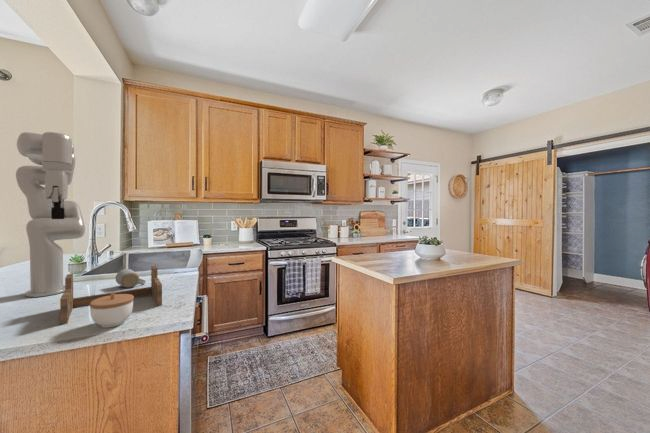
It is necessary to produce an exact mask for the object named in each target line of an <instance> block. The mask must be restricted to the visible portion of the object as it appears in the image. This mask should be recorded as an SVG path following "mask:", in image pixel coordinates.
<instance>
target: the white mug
mask: <svg viewBox="0 0 650 433" xmlns="http://www.w3.org/2000/svg"><path fill="white" fill-rule="evenodd" d="M115 282H116V283H117V284H118V285H120V286H121V287H123V288H124V289H125V288H126V289H131V288H133V287H134V288H135V287H136V285H145V284H146V280H145V279H142V278H140V276H139V274H138V273H137V272H135V271H134V270H133V269H131V268H124V269H121V270H119V271H118V272H117V273H116V275H115Z"/></svg>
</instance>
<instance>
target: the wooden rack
mask: <svg viewBox="0 0 650 433" xmlns="http://www.w3.org/2000/svg"><path fill="white" fill-rule="evenodd" d="M150 267H151V268H150V272H151V273H150V280H151V281H150V283H151V284H150V285H151V286H146V287H141V288H135V289H126V290H120V291H114V292H107V293H101V294H100V293H99V294H93V295H86V296H81V297H80V296H79V297H74V274H73V273H69V274H66V276H65V278H64V286H65V291H64V292H62V295H61V297H60V299H59V302H60V303H59V304H60V306H59V307H60V312H59V313H60V314H59V315H60V325H65V324H68V322H69V321H70V320H69V319H70V317H71V314H72V311H73V308H79V307H86V306H90V303H91V302H92V301H93V300H95V299H98V298H101V297H104V296H109V295H111V294H131V295H133V296H134V298H139V297H145V296H152V298H153V300H154V303H155V305H156V307H160V306H163V284H162V282H161V280H160V279H159V278H158V266H156V265H151V266H150Z"/></svg>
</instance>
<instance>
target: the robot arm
mask: <svg viewBox="0 0 650 433" xmlns="http://www.w3.org/2000/svg"><path fill="white" fill-rule="evenodd" d="M72 142H73V140H72V138H71V137H70V135H67V134H64V133H60V132H59V133H58V132H54V131H53V132H52V131H48V132H47V131H46V132H43V133H42V134H41V133H35V132H34V133H33V132H29V131H28V132H26V131H24V132H21V133H20V134H19V136H18V138H17V139H16V148H17V151H18V154H20V155H21V156H23V157H26V158H28V159H29V161H31V162H32V163H34V164H36V165H23V166H20V167H18V168H17V169H16V171H15V179H16V183H17V185H18V188H19V189H20V190H21V192H22V194H23V195H24V196H25V197H26V200H27V209H28V213H29V216H30V218H31V220H29V221H28V222H27V223H26V227H25V229H26V235H27V239H28V244H29V270H30V271H29V272H30V275H29V277H30V284H29V285H30V286H29V287H30V289H29V290H27V291H26V292H24V296H25V297H27V298H39V297H41V298H42V297H46V296H53V295H58V294H63V293H64V291H65V285H64V251H63V248H62V246H60V245H59V244H58V243H56V242H55V241H62V240H73V239H75V240H77V239H80V238H81V239H82V237H83V236H84V235H85V233H86V226H85V222H84V218H83V215H82V210H81V207H80V205H79V204H78V203H77V202H76V201H73V200H67V199H68V190H69V189H68V187H69V186H70V185H71V183H72V181H73V177H74V172H75V167H76V156H75V154H74V152H75V146H74V144H73V143H72Z"/></svg>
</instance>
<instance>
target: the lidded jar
mask: <svg viewBox="0 0 650 433" xmlns="http://www.w3.org/2000/svg"><path fill="white" fill-rule="evenodd" d="M134 299H135V297H134V296H133V295H131V294H111V295H109V296H104V297H101V298H98V299H95V300H93V301H92V302H91V303H90V305H89V306H90V307H89V308H90V316H91V318H92V320H93V322H94V323H95V324H97V325H98V326H99V327H100V328H113V327H116V326H120V325H122V324H124V323H125V322H126V320H127V319H128V318H129V317H130V316H131V314H132V312H133V308H134Z"/></svg>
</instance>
